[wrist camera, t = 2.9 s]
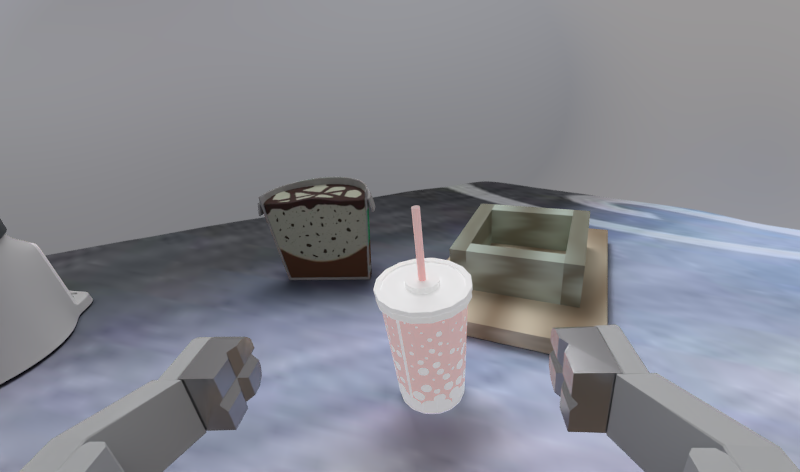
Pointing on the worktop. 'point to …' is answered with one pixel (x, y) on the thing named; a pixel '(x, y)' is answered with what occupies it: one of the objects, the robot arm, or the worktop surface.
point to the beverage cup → (426, 326)
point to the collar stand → (532, 273)
